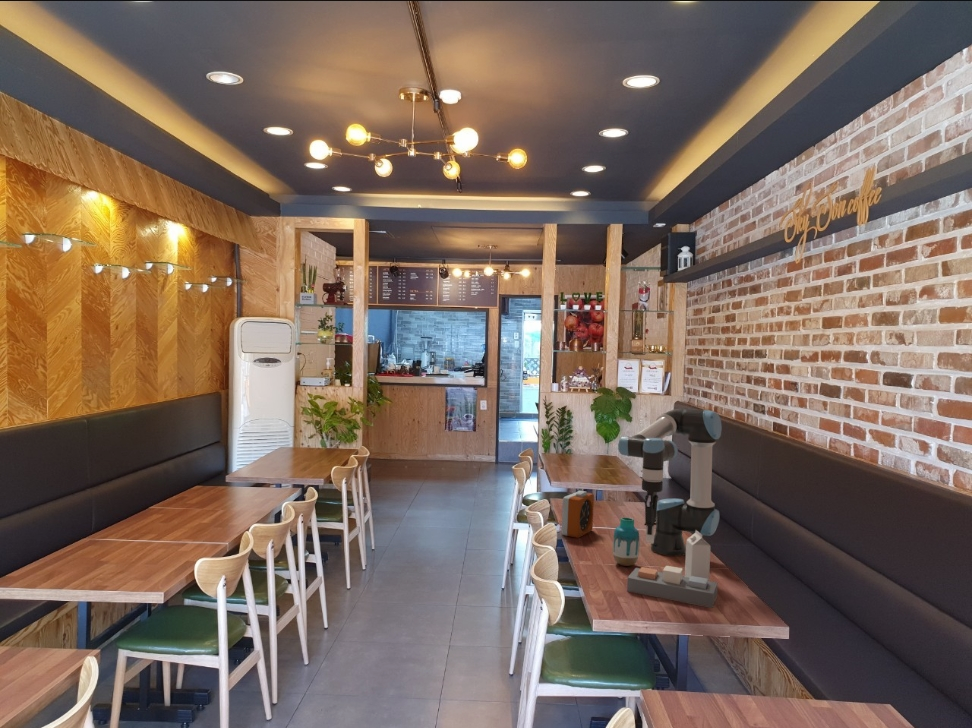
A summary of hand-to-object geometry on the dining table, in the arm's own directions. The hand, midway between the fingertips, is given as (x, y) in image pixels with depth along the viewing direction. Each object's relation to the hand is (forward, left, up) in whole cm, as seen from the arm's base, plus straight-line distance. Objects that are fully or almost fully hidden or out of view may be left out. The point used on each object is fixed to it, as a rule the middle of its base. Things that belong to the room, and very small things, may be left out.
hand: (649, 542), depth 245 cm
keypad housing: (+1, +9, -17) cm, 19 cm away
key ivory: (+1, +9, -14) cm, 17 cm away
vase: (-22, -14, -17) cm, 32 cm away
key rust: (+1, 0, -16) cm, 16 cm away
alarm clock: (-57, -46, -17) cm, 76 cm away
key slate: (+1, +18, -16) cm, 24 cm away
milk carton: (-18, +15, -17) cm, 29 cm away
